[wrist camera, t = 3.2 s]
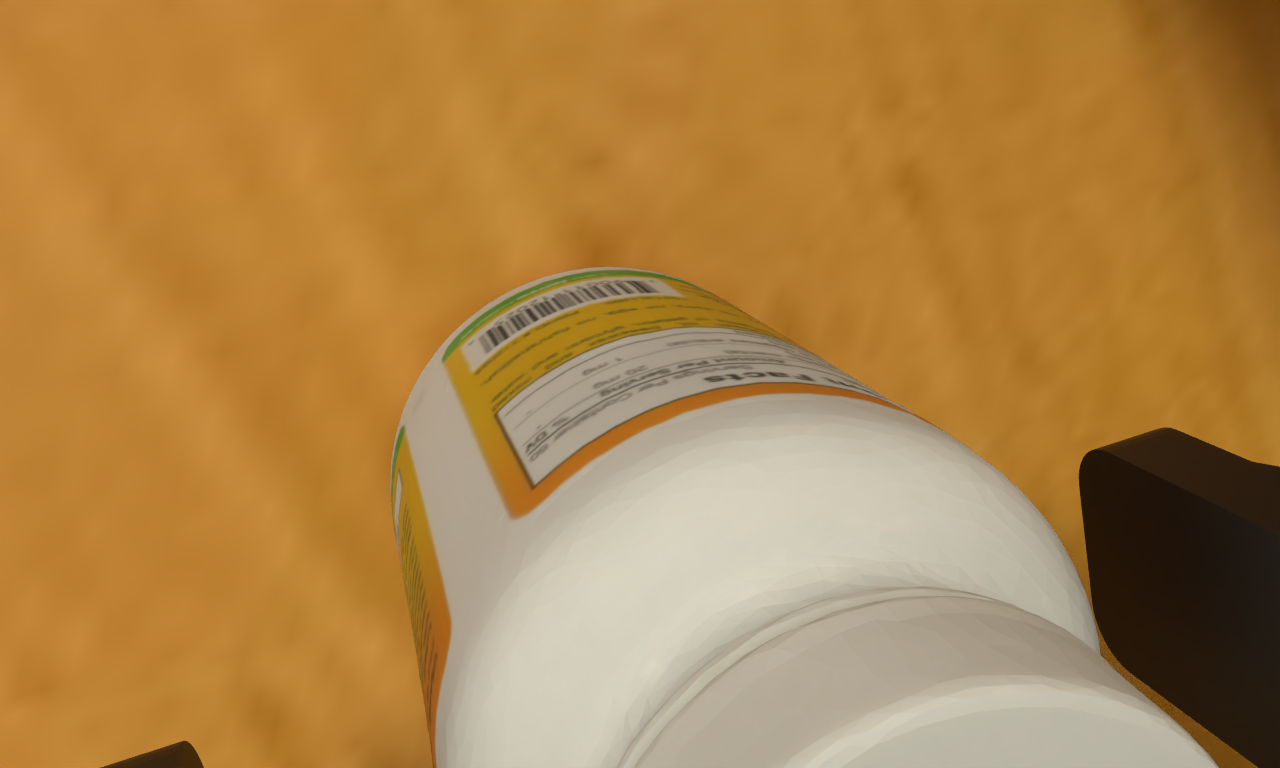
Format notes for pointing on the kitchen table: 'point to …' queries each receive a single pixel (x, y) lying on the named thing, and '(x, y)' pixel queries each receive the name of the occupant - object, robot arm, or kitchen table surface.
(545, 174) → the kitchen table surface
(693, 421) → the supplement bottle
